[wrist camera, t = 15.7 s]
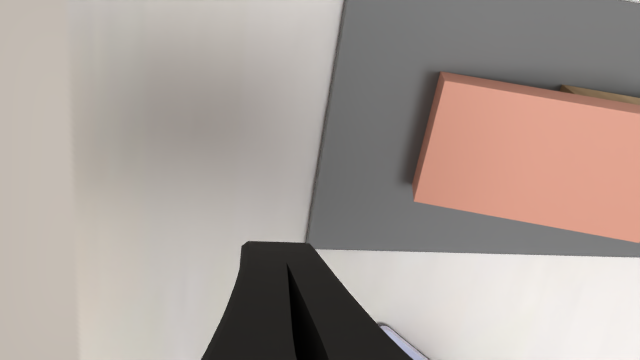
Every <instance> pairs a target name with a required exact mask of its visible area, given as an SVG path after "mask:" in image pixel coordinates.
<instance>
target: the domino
mask: <svg viewBox="0 0 640 360" xmlns="http://www.w3.org/2000/svg"><path fill="white" fill-rule="evenodd" d="M412 190H413V199H414V202H419V203H425V204H430V205H436V206H441V207H446V208H452V209H457V210H463V211H468V212H474V213H479V214H484V215H490V216H495V217H501V218H506V219H512V220H517V221H522V222H528V223H533V224H539V225H544V226H550V227H555V228H560V229H566V230H571V231H577V232H582V233H588V234H593V235H598V236H604V237H609V238H615V239H620V240H626V241H631V242H636V243H639V242H640V105H636V104H630V103H624V102H618V101H612V100H606V99H600V98H595V97H589V96H583V95H577V94H571V93H565V92H559V91H553V90H548V89H542V88H536V87H530V86H524V85H518V84H512V83H506V82H501V81H495V80H489V79H483V78H477V77H471V76H465V75H459V74H454V73H448V72H442V71H440V75H439V79H438V83H437V87H436V91H435V95H434V99H433V103H432V107H431V111H430V115H429V119H428V123H427V127H426V131H425V135H424V139H423V143H422V147H421V151H420V155H419V159H418V163H417V167H416V171H415V175H414V179H413V182H412Z"/></svg>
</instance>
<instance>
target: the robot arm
mask: <svg viewBox="0 0 640 360" xmlns="http://www.w3.org/2000/svg"><path fill="white" fill-rule="evenodd" d="M201 360H428V359H427V358H426V357H425V356H423V355H422V354H421V353H420V352H419V351H417V350H416V349H415V348H414V347H412V346H411V345H410V344H409V343H408V342H406V341H405V340H404V339H403V338H401V337H400V336H399V335H398V334H397V333H395V332H394V331H393V330H392V329H390V328H389V327H387V326H379V325H378V324H377V323H376V322H375V321H374V320H373V319H372V318H371V317H370V316H369V315H368V313H367V312H366V311H365V310H364V309H363V308H362V307H361V305H360V304H359V303H358V302H357V301H356V300H355V299H354V297H353V296H352V295H351V294H350V293H349V292H348V290H347V289H346V288H345V287H344V286H343V284H342V283H341V282H340V281H339V279H338V278H337V277H336V276H335V274H334V273H333V272H332V271H331V269H330V268H329V267H328V266H327V264H326V263H325V262H324V260H323V259H322V258H321V257H320V255H319V254H318V253H317V252H316V250H315V249H314V248H313V247H312V245H311V244H310V243H292V242H257V241H248V242H246V243H245V244H244V245H242V248H241V259H240V269H239V273H238V276H237V280H236V283H235V286H234V289H233V291H232V294H231V297H230V299H229V302H228V305H227V307H226V310H225V312H224V314H223V317H222V319H221V321H220V323H219V325H218V327H217V329H216V331H215V333H214V335H213V338H212V340H211V342H210V344H209V346H208V348H207V350H206V352H205V353H204V355H203V357H202V359H201Z"/></svg>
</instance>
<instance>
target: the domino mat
mask: <svg viewBox="0 0 640 360" xmlns="http://www.w3.org/2000/svg"><path fill="white" fill-rule="evenodd" d="M440 71H442V72H448V73H454V74H459V75H465V76H471V77H477V78H483V79H489V80H495V81H501V82H506V83H512V84H518V85H524V86H530V87H536V88H542V89H548V90H553V91H560V88H561V86H562V85H568V86H574V87H579V88H585V89H591V90H597V91H602V92H608V93H614V94H619V95H625V96H631V97H637V98H640V3H634V2H628V1H622V0H345V3H344V9H343V15H342V21H341V27H340V34H339V40H338V46H337V52H336V58H335V65H334V71H333V77H332V83H331V89H330V96H329V102H328V108H327V114H326V120H325V127H324V133H323V139H322V145H321V151H320V157H319V164H318V170H317V176H316V182H315V188H314V195H313V201H312V207H311V213H310V219H309V226H308V232H307V238H306V243H310V244H311V245H312V247H313V248H314V249H333V250H371V251H410V252H448V253H487V254H525V255H564V256H602V257H640V242H639V243H636V242H631V241H626V240H620V239H615V238H609V237H604V236H598V235H593V234H588V233H582V232H577V231H571V230H566V229H560V228H555V227H550V226H544V225H539V224H533V223H528V222H522V221H517V220H512V219H506V218H501V217H495V216H490V215H484V214H479V213H474V212H468V211H463V210H457V209H452V208H446V207H441V206H436V205H430V204H425V203H419V202H414V199H413V190H412V182H413V179H414V175H415V171H416V167H417V163H418V159H419V155H420V151H421V147H422V143H423V139H424V135H425V131H426V127H427V123H428V119H429V115H430V111H431V107H432V103H433V99H434V95H435V91H436V87H437V83H438V79H439V75H440Z"/></svg>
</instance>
